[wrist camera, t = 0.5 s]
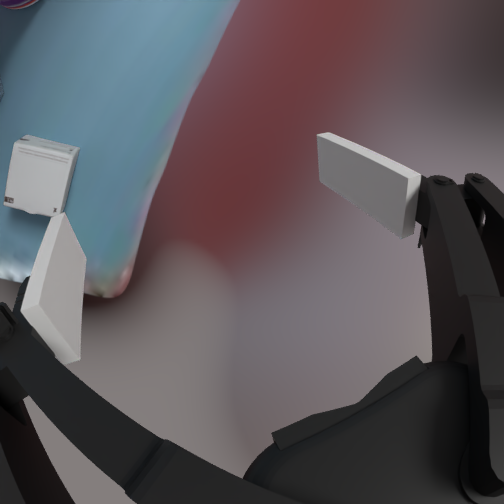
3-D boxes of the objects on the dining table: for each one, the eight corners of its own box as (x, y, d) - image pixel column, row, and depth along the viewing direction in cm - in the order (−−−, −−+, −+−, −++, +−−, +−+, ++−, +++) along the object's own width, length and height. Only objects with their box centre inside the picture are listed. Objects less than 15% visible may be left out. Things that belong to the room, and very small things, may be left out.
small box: (81, 146, 33) (75, 156, 29) (66, 204, 36) (60, 221, 32) (26, 132, 29) (13, 141, 25) (14, 191, 32) (2, 207, 28)
